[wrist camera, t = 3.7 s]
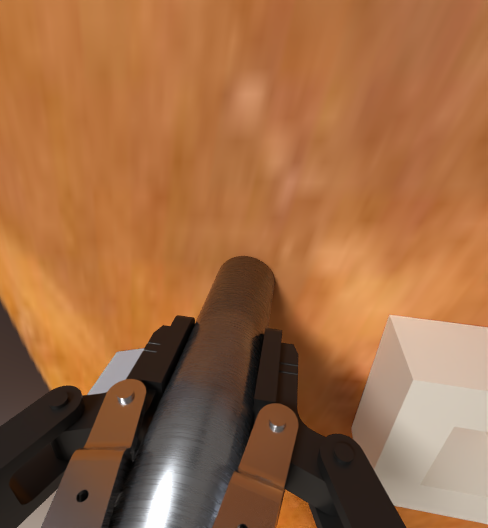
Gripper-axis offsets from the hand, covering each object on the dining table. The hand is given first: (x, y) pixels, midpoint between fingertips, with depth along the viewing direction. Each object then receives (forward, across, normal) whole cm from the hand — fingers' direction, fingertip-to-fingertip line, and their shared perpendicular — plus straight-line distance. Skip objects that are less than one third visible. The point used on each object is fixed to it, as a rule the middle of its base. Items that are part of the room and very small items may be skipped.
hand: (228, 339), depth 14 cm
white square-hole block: (+5, -13, +6) cm, 15 cm away
